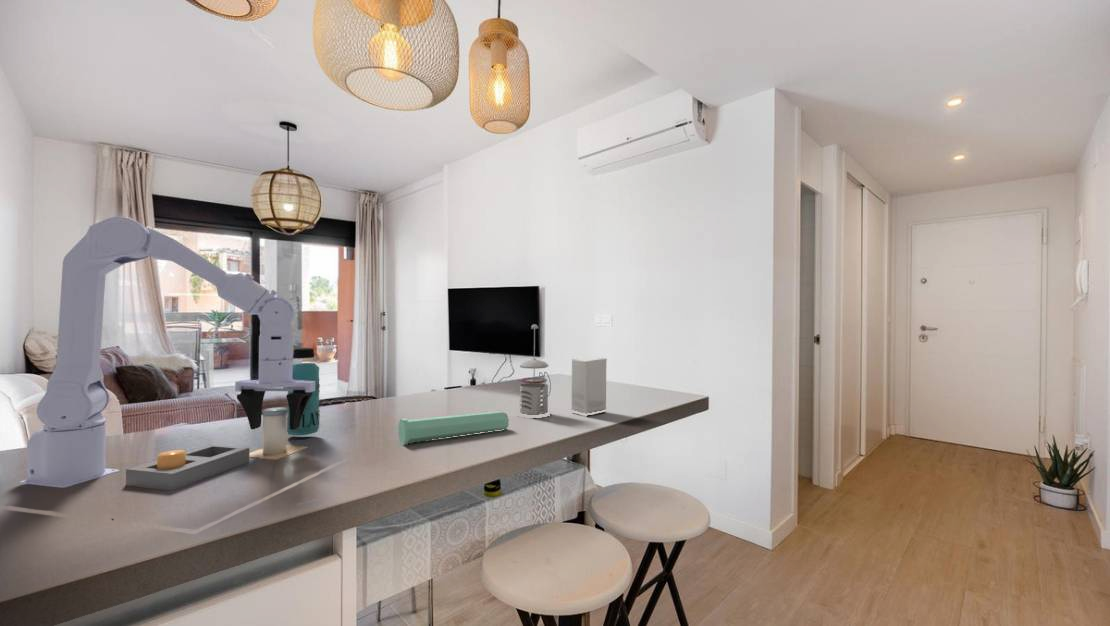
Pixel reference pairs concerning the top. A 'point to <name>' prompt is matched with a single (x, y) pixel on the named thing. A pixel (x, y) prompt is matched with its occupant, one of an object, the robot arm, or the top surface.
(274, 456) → the mat
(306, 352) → the beverage bottle
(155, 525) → the top surface
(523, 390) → the french press
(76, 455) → the robot arm
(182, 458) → the orange cylinder
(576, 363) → the skincare box
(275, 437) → the cartridge
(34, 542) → the top surface
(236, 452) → the housing
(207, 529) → the top surface
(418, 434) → the container
